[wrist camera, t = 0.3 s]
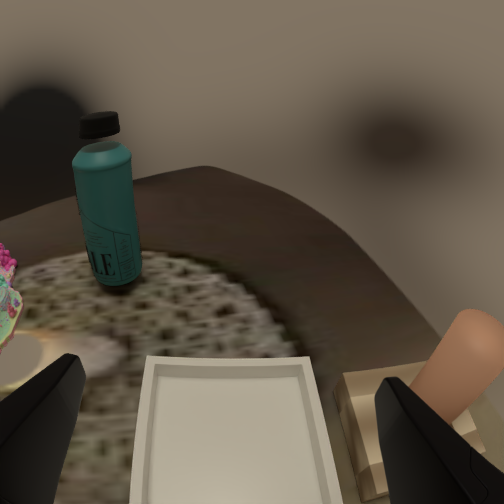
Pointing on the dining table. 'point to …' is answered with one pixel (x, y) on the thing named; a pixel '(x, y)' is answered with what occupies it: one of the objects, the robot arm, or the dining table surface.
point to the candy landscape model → (8, 298)
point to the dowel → (462, 364)
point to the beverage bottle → (107, 202)
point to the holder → (365, 424)
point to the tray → (231, 434)
